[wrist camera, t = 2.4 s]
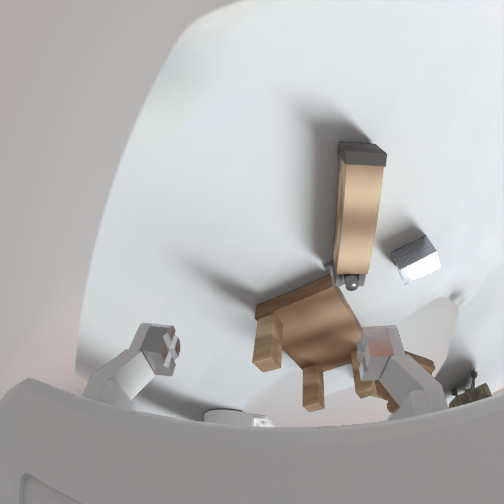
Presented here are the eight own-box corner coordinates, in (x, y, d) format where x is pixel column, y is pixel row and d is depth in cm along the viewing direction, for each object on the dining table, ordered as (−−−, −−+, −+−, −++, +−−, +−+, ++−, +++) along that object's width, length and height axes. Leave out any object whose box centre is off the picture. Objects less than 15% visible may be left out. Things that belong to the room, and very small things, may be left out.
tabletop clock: (473, 391, 52) (493, 474, 31) (442, 404, 55) (458, 489, 34) (480, 364, 45) (509, 462, 24) (445, 379, 48) (468, 482, 27)
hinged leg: (360, 268, 34) (366, 288, 31) (330, 268, 35) (333, 289, 32) (375, 143, 26) (386, 153, 23) (338, 141, 26) (345, 151, 23)
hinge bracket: (359, 274, 35) (367, 300, 31) (336, 285, 37) (340, 311, 33) (348, 253, 34) (355, 278, 30) (324, 264, 35) (328, 290, 31)
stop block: (430, 250, 32) (440, 267, 29) (396, 267, 34) (404, 284, 31) (426, 235, 31) (436, 251, 28) (391, 252, 33) (399, 270, 30)
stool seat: (370, 343, 42) (379, 393, 34) (308, 364, 46) (308, 413, 39) (330, 274, 36) (339, 331, 28) (256, 305, 40) (248, 361, 32)
